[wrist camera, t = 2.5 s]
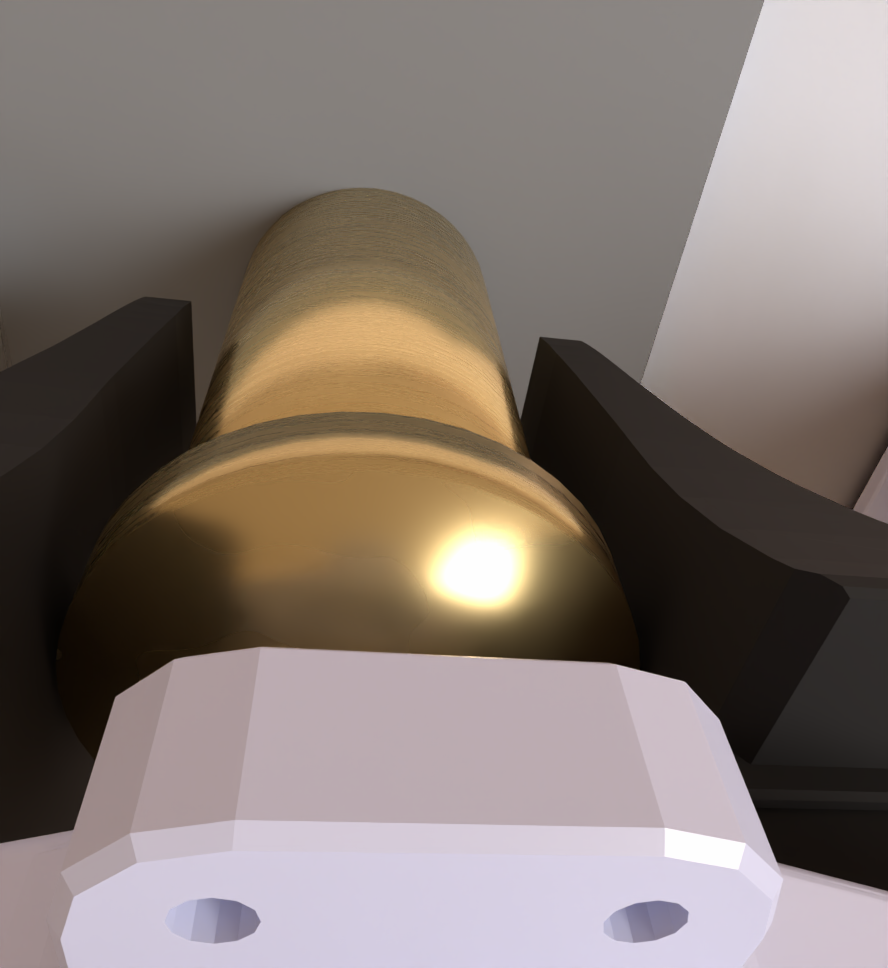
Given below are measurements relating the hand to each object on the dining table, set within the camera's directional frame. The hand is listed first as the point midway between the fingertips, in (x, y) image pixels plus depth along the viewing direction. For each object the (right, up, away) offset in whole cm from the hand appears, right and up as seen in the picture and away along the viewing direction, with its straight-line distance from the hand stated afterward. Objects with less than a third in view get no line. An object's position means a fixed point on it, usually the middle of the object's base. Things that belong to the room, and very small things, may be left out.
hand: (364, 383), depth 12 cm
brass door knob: (0, +1, +2) cm, 2 cm away
